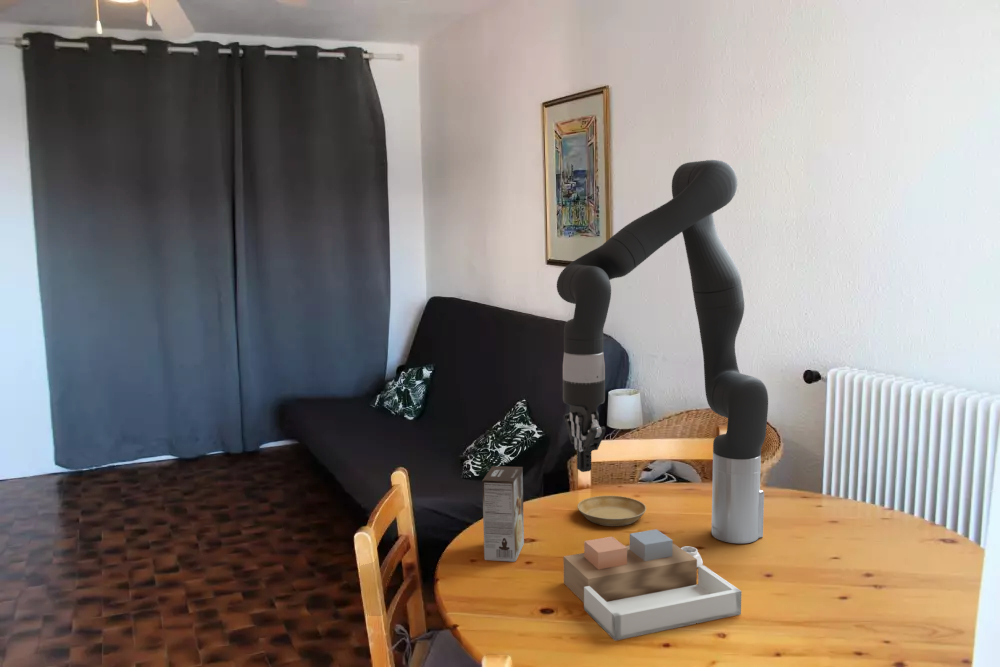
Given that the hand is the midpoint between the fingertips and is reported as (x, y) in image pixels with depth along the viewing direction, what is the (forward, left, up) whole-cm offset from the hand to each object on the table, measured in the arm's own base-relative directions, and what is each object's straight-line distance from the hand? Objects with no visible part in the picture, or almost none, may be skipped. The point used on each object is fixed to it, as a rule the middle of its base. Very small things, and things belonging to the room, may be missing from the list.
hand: (584, 470), depth 153 cm
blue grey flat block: (-9, +8, -14) cm, 19 cm away
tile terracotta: (0, +8, -14) cm, 16 cm away
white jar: (-19, +5, -19) cm, 28 cm away
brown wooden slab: (-5, +9, -19) cm, 21 cm away
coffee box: (+11, -13, -19) cm, 26 cm away
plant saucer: (-17, -22, -19) cm, 34 cm away
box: (-5, +20, -19) cm, 28 cm away
